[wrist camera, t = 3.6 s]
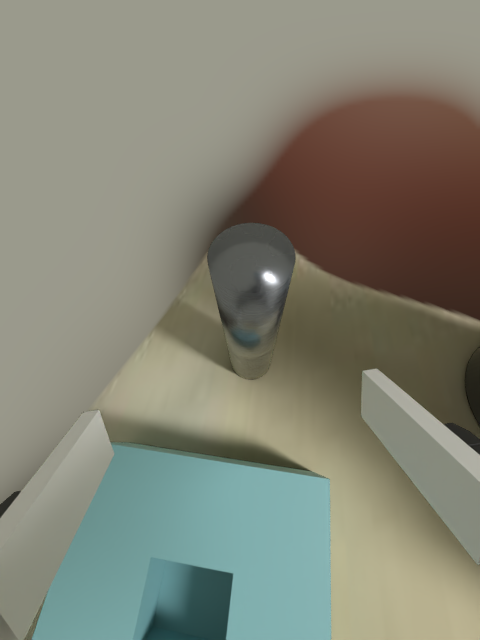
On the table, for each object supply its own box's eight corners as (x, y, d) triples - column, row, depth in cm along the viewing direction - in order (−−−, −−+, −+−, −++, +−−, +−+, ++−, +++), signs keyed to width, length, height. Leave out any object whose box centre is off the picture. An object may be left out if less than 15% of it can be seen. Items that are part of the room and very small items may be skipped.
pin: (271, 344, 30) (297, 226, 14) (268, 382, 28) (293, 297, 12) (234, 339, 30) (215, 219, 14) (228, 376, 29) (199, 288, 12)
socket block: (312, 471, 24) (329, 479, 19) (306, 790, 17) (333, 955, 11) (129, 442, 26) (98, 441, 21) (49, 720, 18) (-35, 835, 13)
